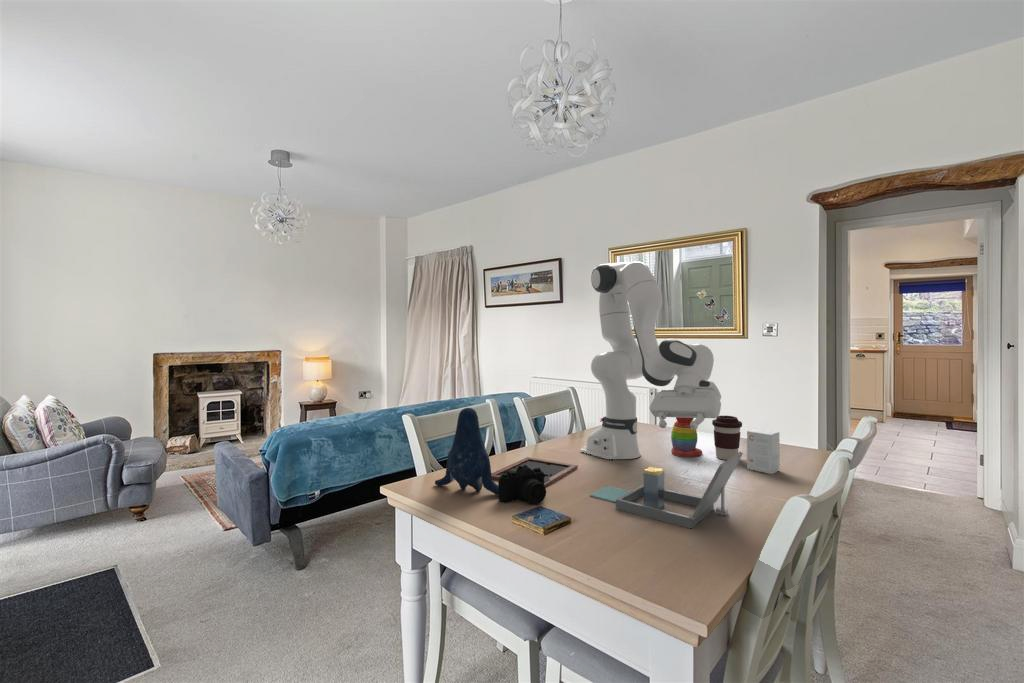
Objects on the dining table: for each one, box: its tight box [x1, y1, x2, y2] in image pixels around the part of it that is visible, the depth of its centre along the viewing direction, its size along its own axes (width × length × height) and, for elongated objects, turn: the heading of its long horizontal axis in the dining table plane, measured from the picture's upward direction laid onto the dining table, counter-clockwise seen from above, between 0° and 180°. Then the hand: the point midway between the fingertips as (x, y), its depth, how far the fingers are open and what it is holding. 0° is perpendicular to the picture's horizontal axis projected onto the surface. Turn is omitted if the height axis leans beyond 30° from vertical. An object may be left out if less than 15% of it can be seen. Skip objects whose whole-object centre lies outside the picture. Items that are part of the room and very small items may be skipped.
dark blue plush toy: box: [434, 407, 499, 496], centre depth 143 cm, size 25×11×25 cm, turn 65°
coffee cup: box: [711, 415, 743, 461], centre depth 177 cm, size 10×10×15 cm
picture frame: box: [491, 456, 579, 489], centre depth 160 cm, size 20×2×25 cm
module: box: [643, 466, 665, 509], centre depth 130 cm, size 4×4×10 cm
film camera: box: [497, 465, 548, 505], centre depth 136 cm, size 15×10×9 cm, turn 117°
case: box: [615, 451, 744, 529], centre depth 126 cm, size 27×16×16 cm, turn 49°
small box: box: [746, 428, 781, 475], centre depth 162 cm, size 8×6×13 cm
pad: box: [589, 485, 631, 504], centre depth 139 cm, size 10×10×1 cm
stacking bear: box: [670, 417, 703, 458], centre depth 183 cm, size 11×10×18 cm
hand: (677, 427), depth 139 cm, fingers open, 8 cm apart
